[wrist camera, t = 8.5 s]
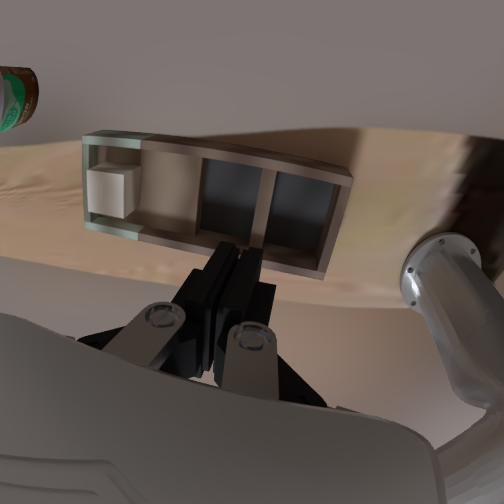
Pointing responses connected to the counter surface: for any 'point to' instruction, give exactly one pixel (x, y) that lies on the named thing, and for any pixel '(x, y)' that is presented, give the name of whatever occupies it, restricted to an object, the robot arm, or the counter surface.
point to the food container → (17, 96)
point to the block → (113, 189)
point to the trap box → (224, 198)
